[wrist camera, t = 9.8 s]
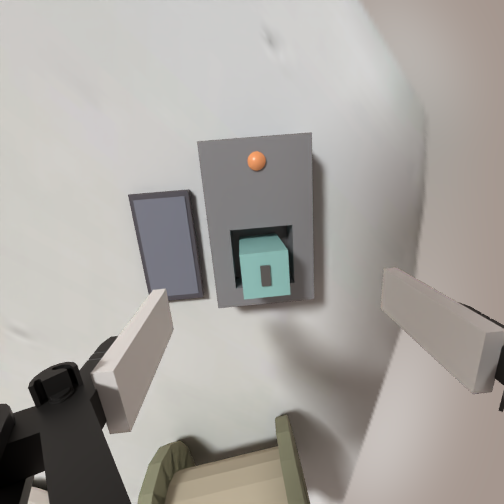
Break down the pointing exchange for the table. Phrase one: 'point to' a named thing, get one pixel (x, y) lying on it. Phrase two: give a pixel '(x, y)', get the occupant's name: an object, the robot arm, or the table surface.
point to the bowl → (38, 496)
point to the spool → (228, 475)
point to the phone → (168, 243)
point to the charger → (264, 266)
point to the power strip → (259, 208)
